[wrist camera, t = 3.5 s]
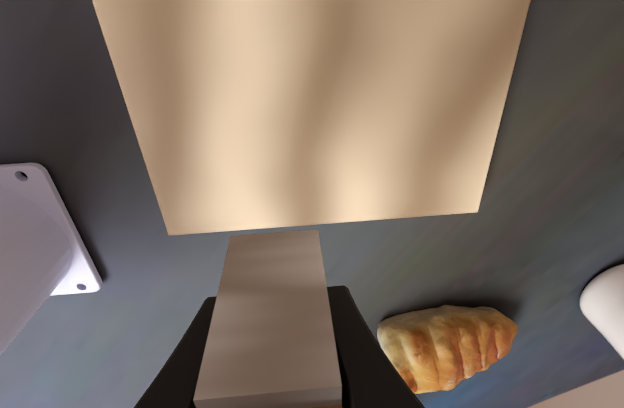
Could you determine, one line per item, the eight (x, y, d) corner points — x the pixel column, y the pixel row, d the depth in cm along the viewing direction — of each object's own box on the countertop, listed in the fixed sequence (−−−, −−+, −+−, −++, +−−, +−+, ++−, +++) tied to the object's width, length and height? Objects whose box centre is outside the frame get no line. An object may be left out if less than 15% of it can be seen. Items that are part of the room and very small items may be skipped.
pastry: (503, 281, 22) (540, 328, 19) (502, 341, 26) (534, 389, 23) (367, 316, 23) (381, 367, 20) (384, 370, 27) (398, 421, 23)
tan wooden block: (246, 310, 12) (224, 491, 7) (230, 236, 10) (190, 412, 6) (321, 304, 12) (342, 478, 7) (318, 229, 10) (343, 397, 6)
